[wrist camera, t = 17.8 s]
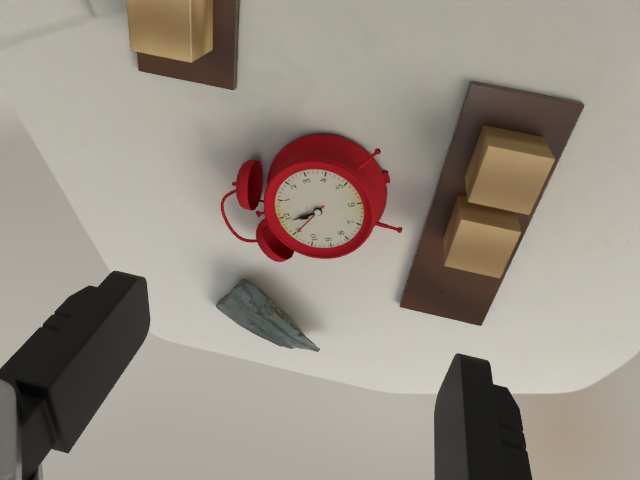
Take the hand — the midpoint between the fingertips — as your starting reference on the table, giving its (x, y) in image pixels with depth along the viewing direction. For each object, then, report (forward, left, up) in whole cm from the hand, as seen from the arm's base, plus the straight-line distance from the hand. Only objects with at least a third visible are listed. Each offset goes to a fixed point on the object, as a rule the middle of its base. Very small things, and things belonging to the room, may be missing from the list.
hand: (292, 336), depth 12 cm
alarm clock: (+12, -4, -28) cm, 31 cm away
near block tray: (+11, +10, -28) cm, 32 cm away
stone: (+27, -7, -28) cm, 40 cm away
